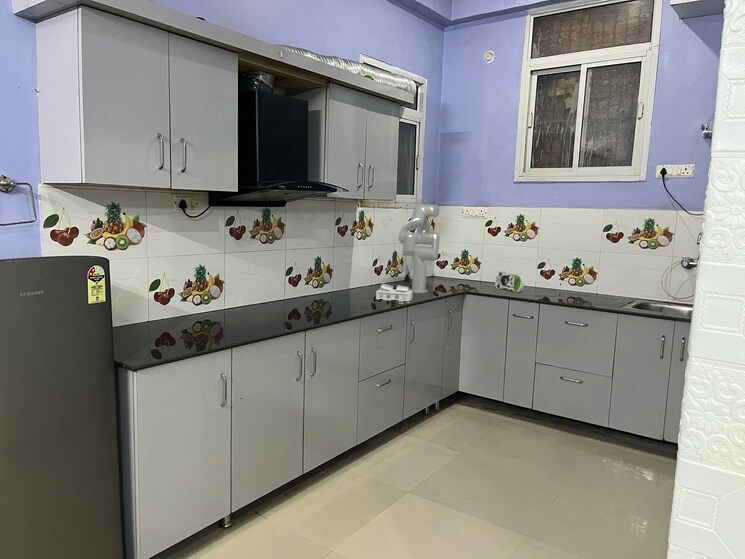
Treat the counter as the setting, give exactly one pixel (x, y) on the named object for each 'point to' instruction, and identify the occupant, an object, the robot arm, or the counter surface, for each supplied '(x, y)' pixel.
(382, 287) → the slate rocker
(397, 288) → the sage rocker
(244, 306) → the counter surface
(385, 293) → the switch box
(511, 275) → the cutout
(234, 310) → the counter surface
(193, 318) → the counter surface
